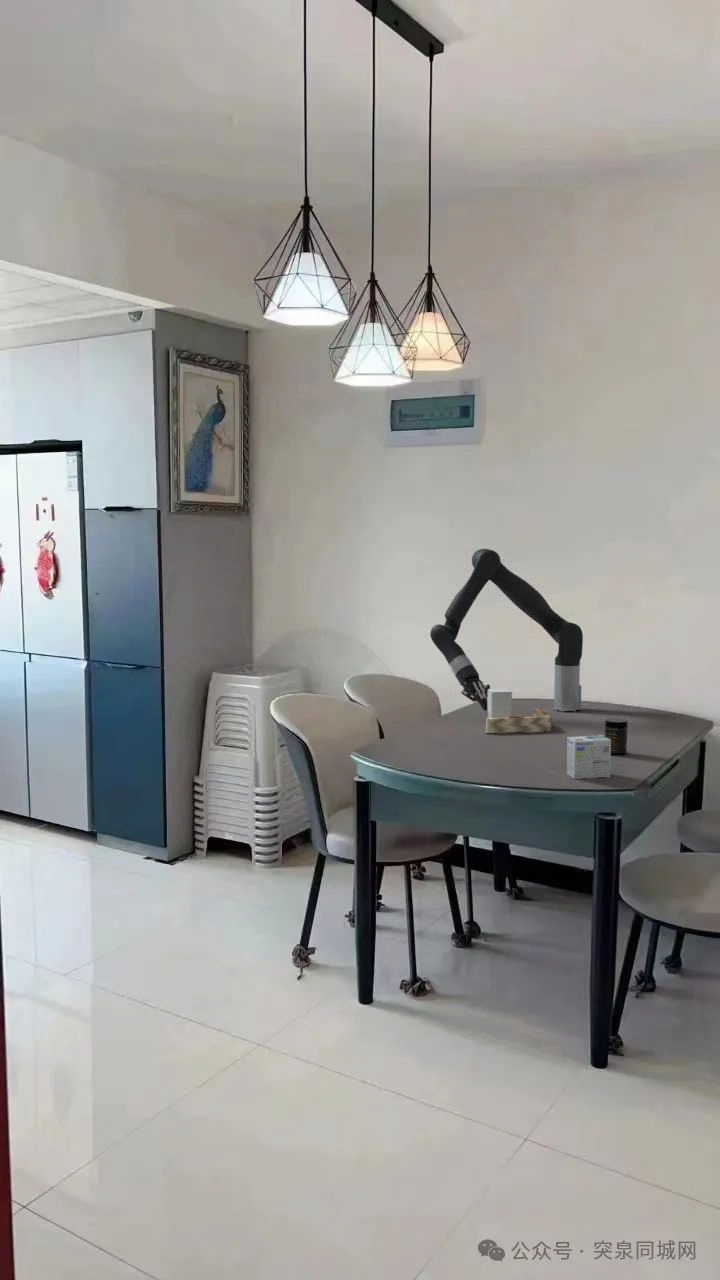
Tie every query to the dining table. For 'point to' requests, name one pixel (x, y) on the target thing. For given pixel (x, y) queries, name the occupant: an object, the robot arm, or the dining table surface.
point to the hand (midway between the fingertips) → (487, 709)
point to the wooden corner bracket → (520, 723)
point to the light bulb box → (588, 757)
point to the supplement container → (617, 735)
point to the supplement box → (499, 703)
